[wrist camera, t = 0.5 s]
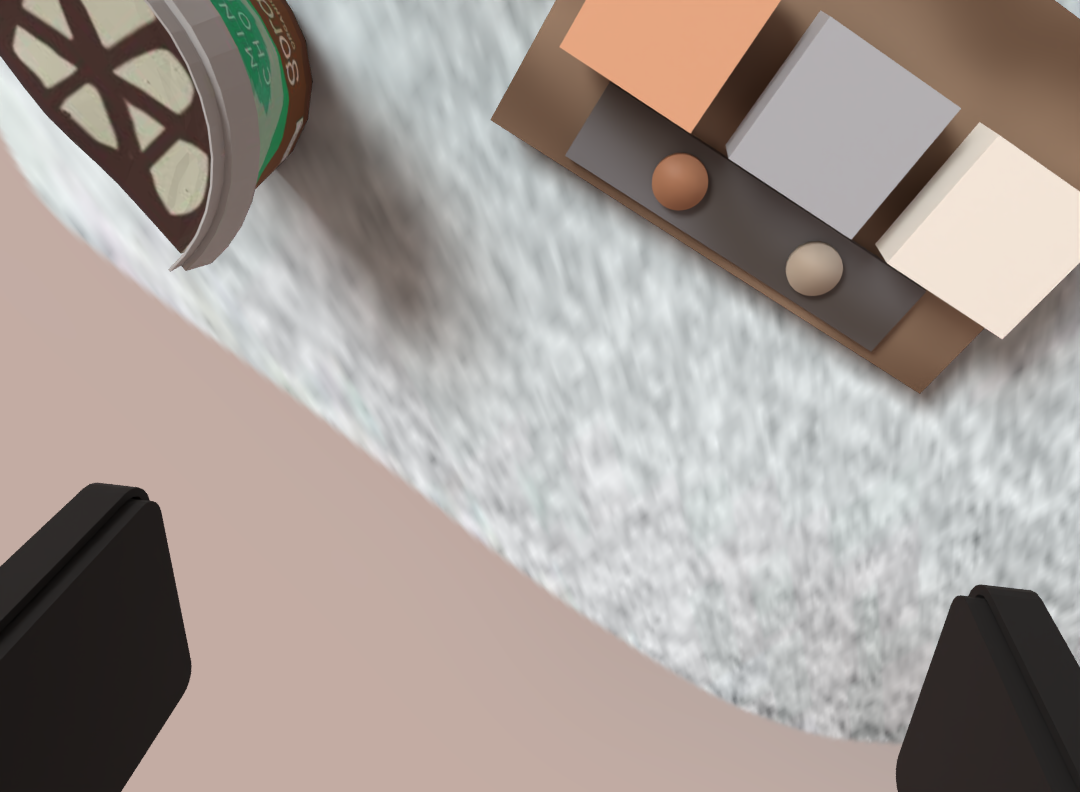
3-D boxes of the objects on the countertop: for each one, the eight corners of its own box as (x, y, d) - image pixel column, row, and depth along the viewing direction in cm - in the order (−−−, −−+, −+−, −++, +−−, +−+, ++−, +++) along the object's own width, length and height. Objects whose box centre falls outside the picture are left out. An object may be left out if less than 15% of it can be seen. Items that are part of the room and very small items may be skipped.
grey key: (820, 10, 28) (830, 16, 26) (943, 96, 28) (961, 108, 27) (725, 144, 30) (728, 158, 28) (841, 221, 31) (851, 239, 29)
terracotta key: (650, -110, 27) (648, -112, 25) (782, -17, 27) (789, -13, 26) (566, 39, 29) (559, 46, 27) (689, 121, 30) (690, 133, 28)
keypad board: (698, -251, 27) (700, -268, 25) (1171, 98, 30) (1215, 114, 28) (500, 109, 34) (485, 124, 31) (908, 371, 36) (925, 404, 34)
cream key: (979, 122, 29) (999, 135, 27) (1095, 203, 29) (1121, 221, 28) (874, 243, 31) (886, 263, 29) (984, 316, 32) (1002, 339, 30)
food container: (407, 111, 34) (315, 176, 25) (299, 198, 37) (182, 285, 28) (182, -187, 30) (-17, -231, 22) (78, -69, 33) (-139, -65, 24)
